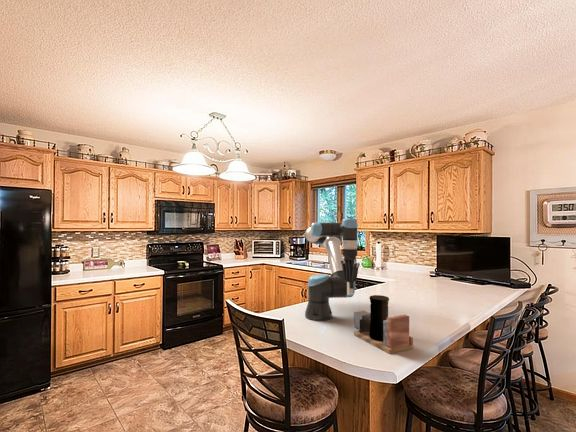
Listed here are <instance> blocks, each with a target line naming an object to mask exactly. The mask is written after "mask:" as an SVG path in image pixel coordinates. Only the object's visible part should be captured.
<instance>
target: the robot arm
mask: <svg viewBox="0 0 576 432" xmlns="http://www.w3.org/2000/svg"><path fill="white" fill-rule="evenodd" d="M358 227H359V225H358V220H357V219H356V218H343V219H342V222H311V225H310V227H308V228H307V229H306V230H305V232H304V237H305V240H306V241H307V242H309V243H310V244H313V245H322V246H323V247H324V248H325V249H326V253H327V258H328V262H329V266H330V267H329V268H330V271H331V272H330V273H331V274H330V276H329V274H327V273H318V274H313V275H310V276H309V278H308V281H307V287H308V288H307V297H308V298H307V301H308V302H307V305H306V308H305V310H304V317H305V318H306V319H308V320H311V321H329V320H330V319H332V318H333V313H332V309H331V305H330V299H334V298H335V299H336V298H337V299H340V298H343V299H344V298H352V297H354V295H355V291H356V282H357V281H358V280H357V279H358V273H359V268H360V266H361V264H360V263H359V262H357V256H358ZM341 244H342V250H341V247H340V246H341Z"/></svg>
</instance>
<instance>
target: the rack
mask: <svg viewBox="0 0 576 432" xmlns="http://www.w3.org/2000/svg"><path fill="white" fill-rule="evenodd" d="M369 333H370V332H369V331H366V332H361V333H359V330H357V331H354V332H353V336H354V337H357V338H358V339H360V340H363V341H364V342H366V343H367V344H369V345H372V346H374V347H375V348H378V349H379V350H381V351H383V352H385V353H386V354H389V355H391V354H395V353H399V352H400V353H401V352H403V351H407V350H413V349H414V336H413V337H412V336H410V316H409V315H407V314H400V315H395V316H388V318H387V320H384V321H383V338H384V341H377V340H373V339H371V338H370V337H369Z"/></svg>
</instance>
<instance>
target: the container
mask: <svg viewBox="0 0 576 432" xmlns="http://www.w3.org/2000/svg"><path fill="white" fill-rule="evenodd" d="M389 301H390V298H389V297H388V296H385V295H383V294H382V295H381V294H380V295H379V294H377V295H376V294H375V295H370V296H369V302H370V304H369V305H370V306H369V307H370V309H369V310H370V312H369V313H370V331H369V332H370V333H369V337H370V338H371V339H373V340H377V341H384V338H383V321H384V320H387V318H388V317H389Z"/></svg>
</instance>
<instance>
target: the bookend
mask: <svg viewBox="0 0 576 432" xmlns="http://www.w3.org/2000/svg"><path fill="white" fill-rule="evenodd" d="M353 329H356V330H357V331H359V333H361V332H366V331H370V312H368V311H365V310H360V311H354V312H353Z"/></svg>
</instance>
